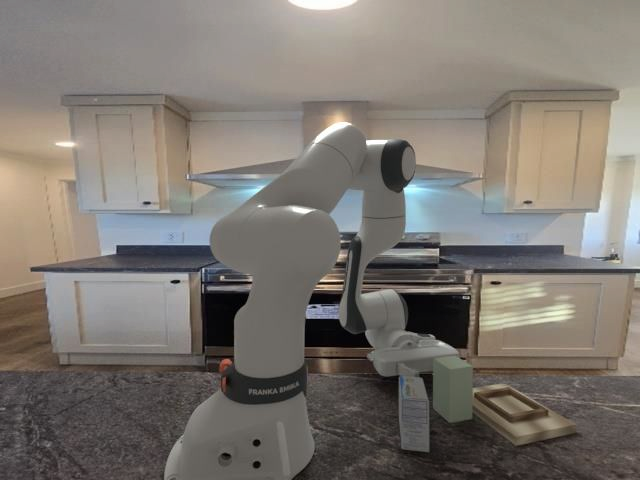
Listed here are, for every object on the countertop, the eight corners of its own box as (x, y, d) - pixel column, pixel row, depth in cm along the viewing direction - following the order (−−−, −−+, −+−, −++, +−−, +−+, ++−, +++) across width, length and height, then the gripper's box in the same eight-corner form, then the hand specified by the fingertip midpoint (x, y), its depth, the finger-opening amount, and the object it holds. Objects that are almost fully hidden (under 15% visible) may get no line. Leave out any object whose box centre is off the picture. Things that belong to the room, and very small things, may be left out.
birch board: (515, 445, 50) (516, 430, 50) (454, 397, 65) (454, 386, 65) (575, 432, 53) (576, 418, 53) (504, 389, 68) (504, 378, 68)
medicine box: (429, 454, 48) (430, 400, 48) (400, 450, 49) (400, 397, 49) (423, 423, 56) (423, 377, 56) (398, 420, 57) (398, 374, 57)
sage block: (449, 423, 56) (449, 369, 56) (432, 407, 61) (433, 358, 61) (472, 418, 58) (472, 366, 57) (454, 404, 62) (454, 355, 62)
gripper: (364, 340, 75) (391, 364, 61) (437, 333, 80) (477, 354, 66) (363, 366, 75) (391, 395, 61) (437, 357, 80) (476, 383, 66)
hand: (436, 374), depth 64 cm, fingers open, 8 cm apart
